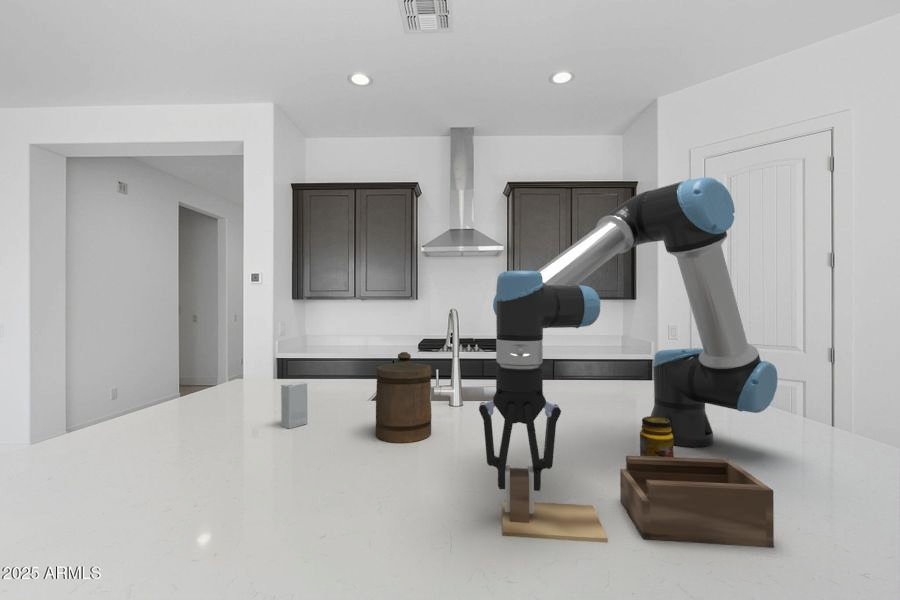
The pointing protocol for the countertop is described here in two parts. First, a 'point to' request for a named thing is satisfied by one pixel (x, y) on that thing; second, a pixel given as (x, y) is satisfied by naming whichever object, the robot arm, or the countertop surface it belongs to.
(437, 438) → the countertop surface
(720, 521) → the walnut box
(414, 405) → the wooden container
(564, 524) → the cover plate
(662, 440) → the condiment
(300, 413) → the skincare box
